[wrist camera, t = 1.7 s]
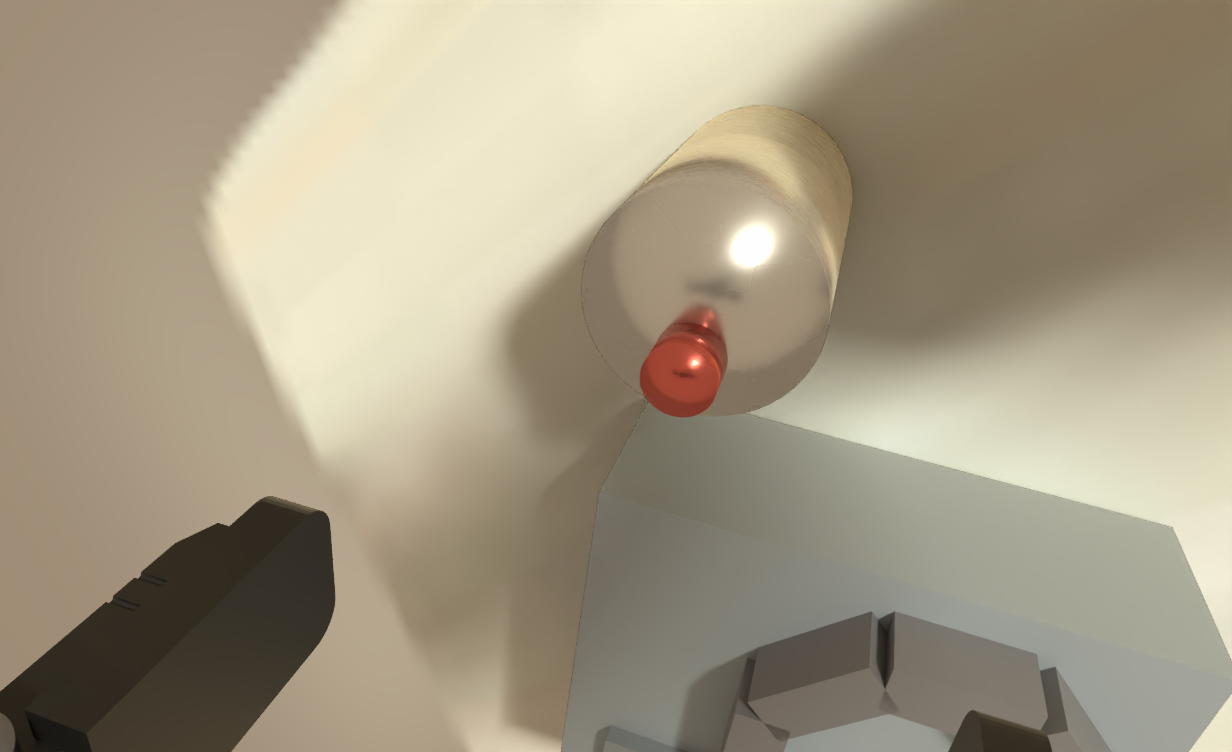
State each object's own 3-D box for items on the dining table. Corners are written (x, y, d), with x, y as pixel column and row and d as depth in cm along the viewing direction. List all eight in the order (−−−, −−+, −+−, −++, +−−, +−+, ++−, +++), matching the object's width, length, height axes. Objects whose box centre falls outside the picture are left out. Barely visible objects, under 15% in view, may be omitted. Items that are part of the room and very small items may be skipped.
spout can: (685, 89, 23) (575, 172, 16) (875, 125, 22) (858, 233, 15) (657, 262, 26) (551, 407, 18) (826, 302, 25) (789, 473, 17)
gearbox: (654, 389, 28) (574, 537, 21) (1173, 527, 25) (1271, 751, 18) (596, 722, 37) (525, 903, 30) (976, 855, 33) (994, 1090, 27)
